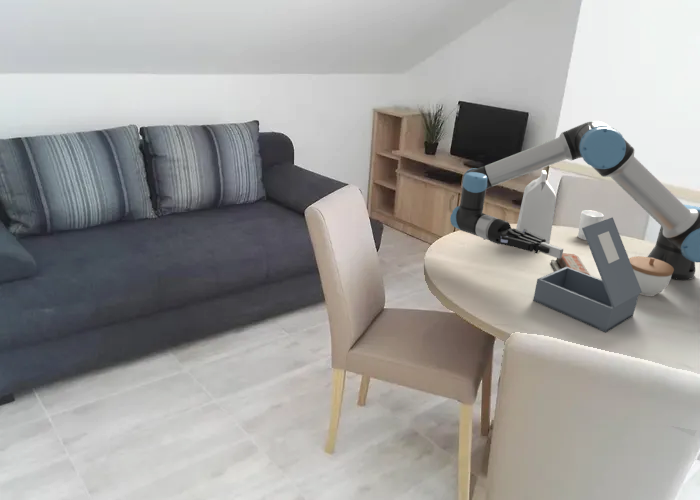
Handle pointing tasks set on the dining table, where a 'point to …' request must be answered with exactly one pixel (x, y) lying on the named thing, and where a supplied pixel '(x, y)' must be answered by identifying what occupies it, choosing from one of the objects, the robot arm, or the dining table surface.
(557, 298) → the mailer box
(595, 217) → the white cup
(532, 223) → the milk
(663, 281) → the lidded bowl
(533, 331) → the dining table surface
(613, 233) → the lid
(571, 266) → the packaged product
